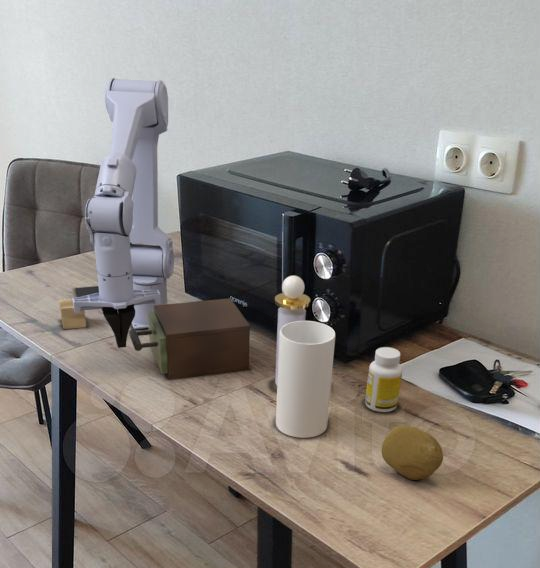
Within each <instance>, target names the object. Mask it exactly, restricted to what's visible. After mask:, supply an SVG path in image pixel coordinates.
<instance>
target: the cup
mask: <svg viewBox="0 0 540 568" xmlns="http://www.w3.org/2000/svg"><path fill="white" fill-rule="evenodd" d="M335 345H336V332H335V330H334V329H333V327H331V326H329V325H327V324H325V323H322V322H318V321H314V320H305V321H295V322H291V323H288V324H286V325H284V326H283V327H282V328H281V329H280V338H279V359H278V382H277V385H276V408H275V410H276V411H275V426H276V428H277V429H278V431H280V432H281V433H282V434H284V435H287V436H290V437H293V438H301V439H307V438H314V437H317V436H320V435H321V434H323V433H324V432H326V430H327V428H328V419H329V410H330V409H329V408H330V398H331V386H332V377H333V366H334V355H335Z"/></svg>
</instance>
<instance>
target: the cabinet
mask: <svg viewBox="0 0 540 568" xmlns="http://www.w3.org/2000/svg"><path fill="white" fill-rule="evenodd" d="M153 309H154V313H155V315H156V317H157V319H158V321H159V323H160V325H161V327H162V330H163V331H164V333H165V335H166V338H167V357H168V373H166V375H167V377H168V379H169V380H173V379H182V378H190V377H197V376H199V377H200V376H207V375H215V374H221V373H228V372H229V373H230V372H237V371H244V370H245V371H246V370H249V369H250V342H251V341H250V339H251V338H250V337H251V325H250V324H249V322H248V321H247V320H246V318H245V317H244V315H243V314H242V312H241V311H240V310H239V308H238V307H237V305H236V304H235V303H234V301H233V300H232V298H231V297H228V298H219V299H207V300H198V301H189V302H188V301H187V302H178V303H177V302H175V303H168V304H166V305H155V306H153Z"/></svg>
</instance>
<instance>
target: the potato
mask: <svg viewBox="0 0 540 568" xmlns="http://www.w3.org/2000/svg"><path fill="white" fill-rule="evenodd" d="M381 457H382V459H383V460H384V462H385V463H386V464H387V465H388V466H389V467H390V468H392V469H393V470H394V471H396V472H397V473H399V474H400V475H402V476H403V477H405V478H406V479H408V480H411V481H412V480H414V481H416V480H423V479H427V478H429V477H431V476H432V475H433V474H434V473H435V472H436V471H437V470H438V469H439V468H440V467H441V465H442V464H443V461H444V453H443V449H442V446H441V445H440V442H439V441H438V440H437V439H436V438H435V437H434V436H432V434H429V433H428V432H426V431H424V430H422V429H419V428H417V427H413V426H409V425H408V426H407V425H397V426H395V427H393V428H392V429H391V430H390V431H389V432H388V434H387V435H386V436H385V438H384V439H383V442H382V445H381Z"/></svg>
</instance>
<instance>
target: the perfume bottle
mask: <svg viewBox="0 0 540 568" xmlns="http://www.w3.org/2000/svg"><path fill="white" fill-rule="evenodd" d="M281 290H282V293H278V294H276V295H275V296H274V304H275V306H277V307H278V309H277V315H275V316H274V318H273V319H274V320H273V329H274V330H273V332H274V333H275V329H276V351H275V373H274V374H275V375H274V379H275V380H274V383H275V385H276V386H277V382H278V359H279V338H280V329H281V328H282V327H283V326H284V325H286V324H288V323H291V322H295V321H306V318H307V317H306V316H307V310H306V308H308V307H309V306H310V305H311V298H310V296H308V295H307V294H304V292H305V282H304V280H303V279H302V278H301V277H300V276H298V275H289V276H287V277H286V278H285V279H284V280H283V282H282V284H281ZM276 327H277V328H276Z"/></svg>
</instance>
